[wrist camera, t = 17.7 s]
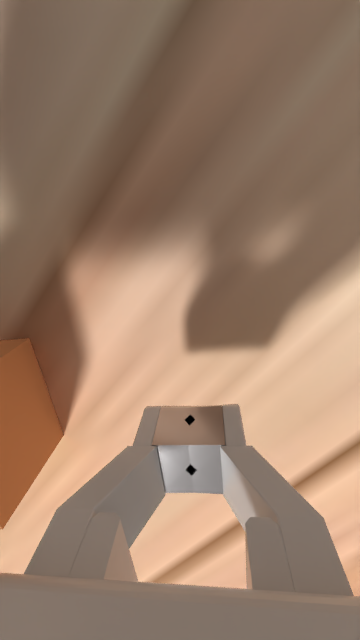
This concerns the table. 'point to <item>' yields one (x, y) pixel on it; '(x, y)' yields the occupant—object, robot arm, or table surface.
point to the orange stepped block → (23, 423)
